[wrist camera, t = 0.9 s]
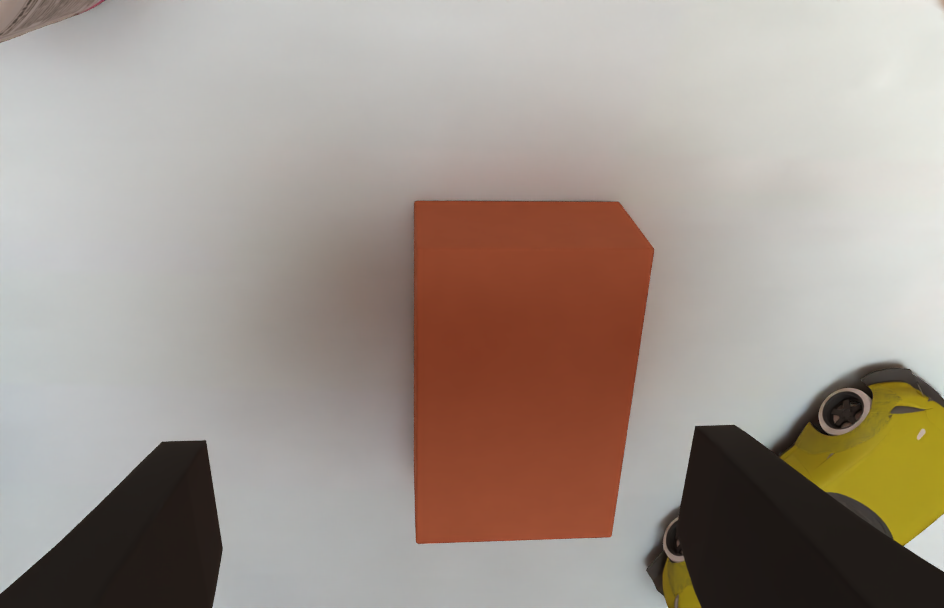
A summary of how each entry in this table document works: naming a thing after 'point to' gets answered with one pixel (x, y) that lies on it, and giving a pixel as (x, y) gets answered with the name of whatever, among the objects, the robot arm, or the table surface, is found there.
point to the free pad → (523, 366)
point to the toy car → (856, 466)
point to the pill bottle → (37, 14)
